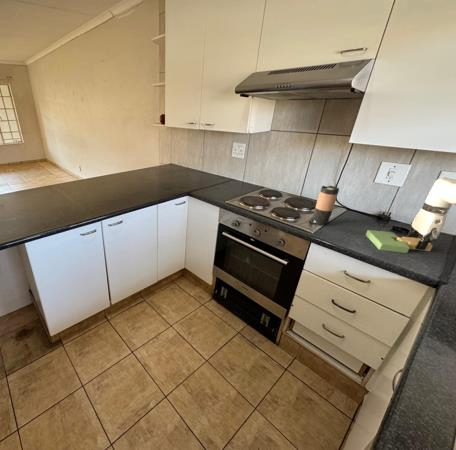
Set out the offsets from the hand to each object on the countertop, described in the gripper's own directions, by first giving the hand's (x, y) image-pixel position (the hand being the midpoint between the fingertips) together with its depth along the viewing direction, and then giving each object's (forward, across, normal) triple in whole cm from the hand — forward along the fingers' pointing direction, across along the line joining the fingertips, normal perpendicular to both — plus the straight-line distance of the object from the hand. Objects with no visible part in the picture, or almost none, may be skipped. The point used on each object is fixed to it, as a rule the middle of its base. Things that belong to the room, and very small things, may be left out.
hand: (415, 244), depth 110 cm
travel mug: (+1, +16, +34) cm, 38 cm away
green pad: (+1, 0, +11) cm, 11 cm away
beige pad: (+1, 0, +1) cm, 2 cm away
